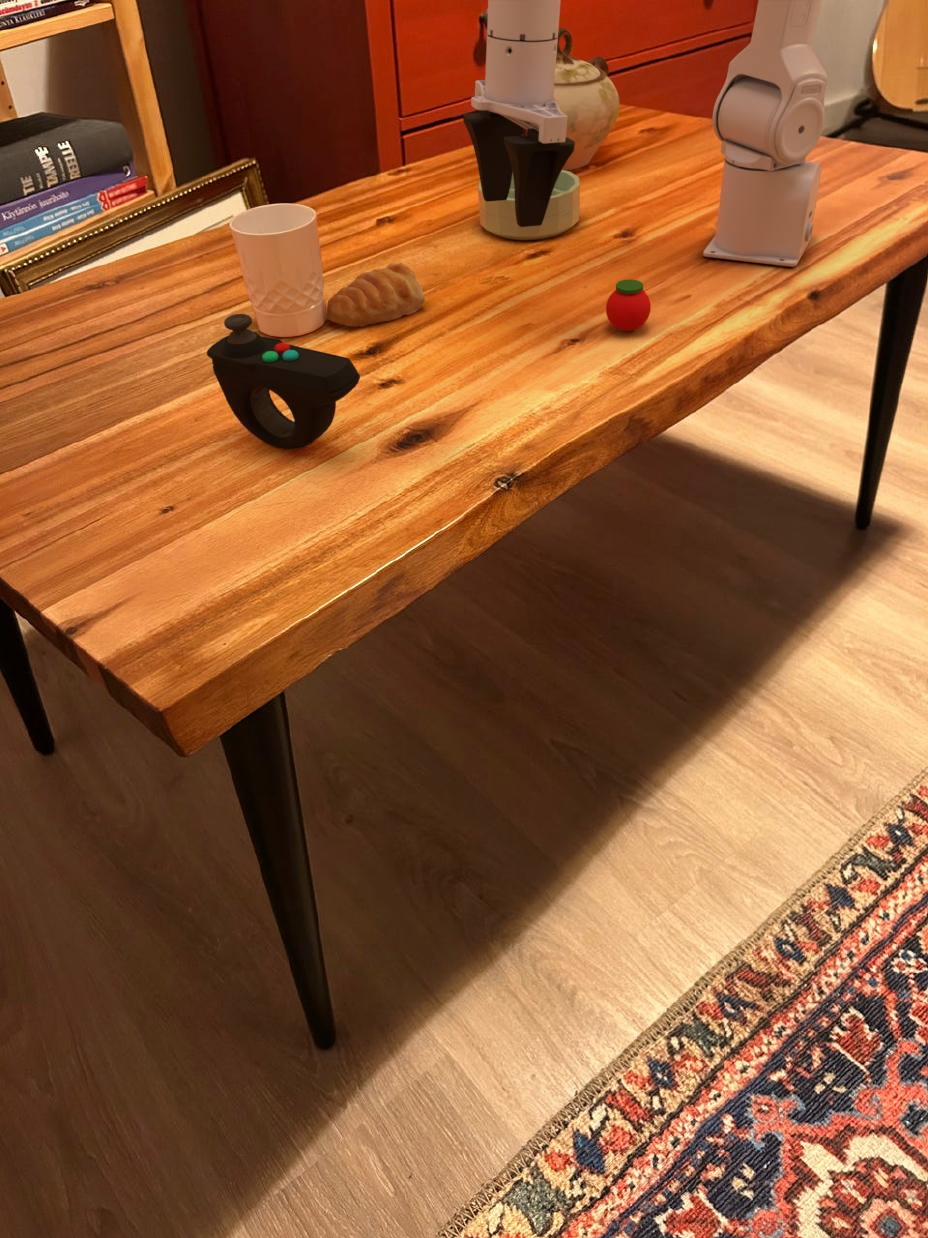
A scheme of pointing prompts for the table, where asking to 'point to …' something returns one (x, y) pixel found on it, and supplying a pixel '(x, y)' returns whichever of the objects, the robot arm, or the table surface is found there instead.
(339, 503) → the table surface
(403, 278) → the pastry
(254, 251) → the white cup
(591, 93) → the cream ceramic round pot
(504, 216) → the bowl
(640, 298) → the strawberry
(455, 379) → the table surface
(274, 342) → the controller
